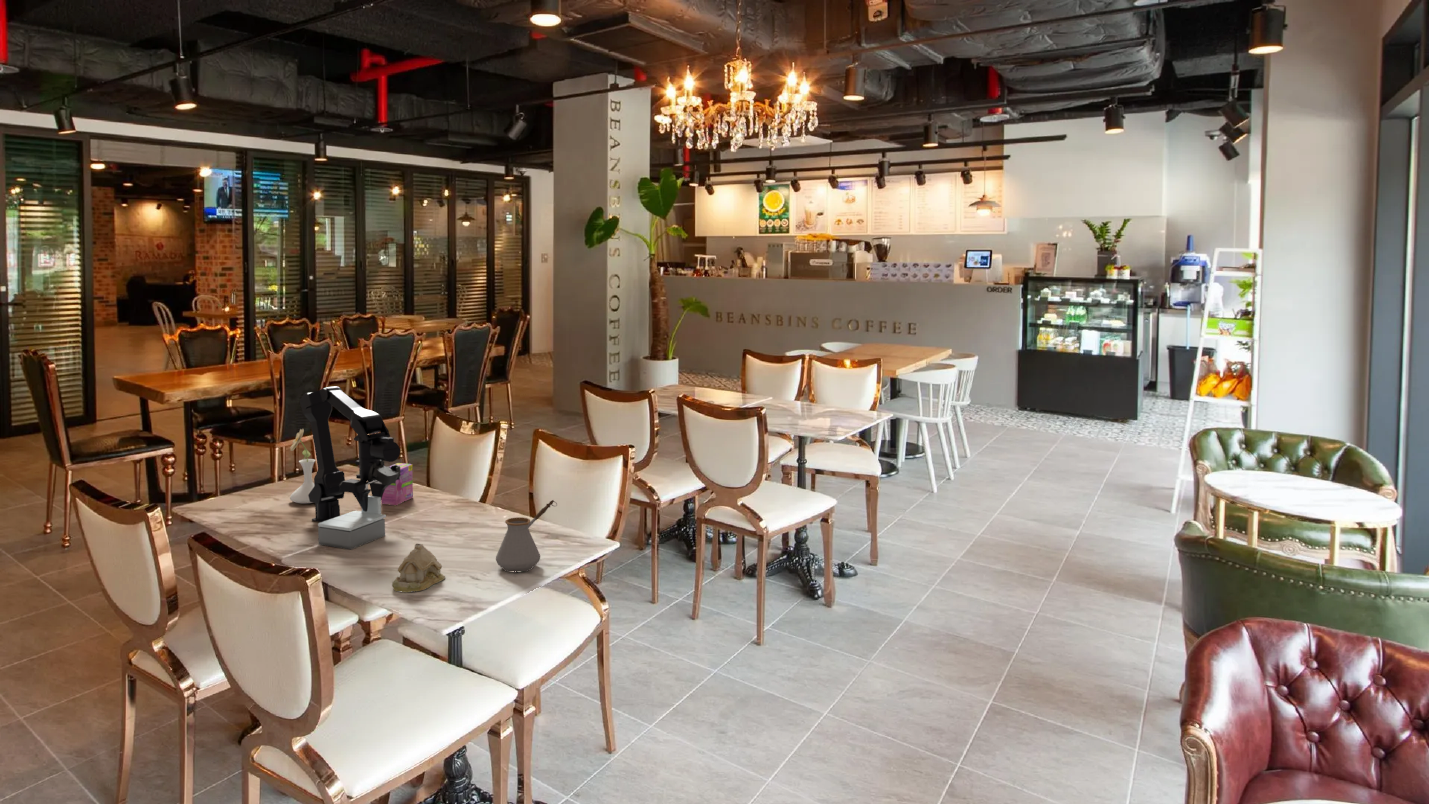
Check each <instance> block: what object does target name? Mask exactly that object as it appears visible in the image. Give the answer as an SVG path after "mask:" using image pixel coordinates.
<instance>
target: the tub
mask: <svg viewBox="0 0 1429 804" xmlns="http://www.w3.org/2000/svg"><path fill="white" fill-rule="evenodd" d="M317 531H318V532H317V535H318V546H324V545H326V546H325V547H331V548H339V549H343V548H345V549H344V550H353V549H356V548H358V547H360V545H361V546H363V545H365V544H369V543H370V542H373V541H375V539H376V540H378V539H380V538H383V537H385V536H386V520H385V518H383V519H381V520H378V521H375V522H373V523H370V524H367V525H365V526H362V527H359V528H357V529H354V530H351V531H346V530H339V529H332V528H326V527H319V526H317Z"/></svg>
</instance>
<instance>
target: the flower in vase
mask: <svg viewBox="0 0 1429 804" xmlns="http://www.w3.org/2000/svg"><path fill="white" fill-rule="evenodd" d="M304 431H305V430H304V428H302V429H301V428H300V429H299V432H297V433H296V435H295V439H293V440H292V444H291V446H290V447H289V449H290V452H291V451H292V452H293V451H294V450H295V449H296V448H297V447H298V445H299V443H300V444H301V445H302V446H303V448H304V449H303V451H302V455H303V458H302V459H300V460H298V463H299V464H300V465H301V467H302V470H303V479H304V480H303V483H302V484H301V485H300V486H299V487H298V488H296V489H295V490H294V491H293V492H292V493H291V494H290V496H289V500H290V501H291V502H294V503H296V504H313V502H310V500H309V496H308V495H309V493H310V492H311V490H312V489H313V487H314V480H313V478H312V477H313V476H312V475H313V466H314V464H315V462H317V459H314V458H309V457H310V456H311V453H310V451H309V450H308V449H307V448H306V446H305V445H304V443H303V441H302V438H303V435H304Z"/></svg>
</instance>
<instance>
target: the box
mask: <svg viewBox="0 0 1429 804" xmlns="http://www.w3.org/2000/svg"><path fill="white" fill-rule="evenodd" d="M393 465H398V466H400V470H401V473H400V475H401V476H400V477H399V480H396V483H392V484H391V485H389V486H388V487H387V488H386V489H385V490H384V493H383V496H382V499H381V505H383V504H390V505H389V506H393V505H397V506H399V505H400V504H403V503H404V501H405V502H407V501H408V500H410V499H413V498H414V487H413V484H414V483H413V481H414V479H413V478H414V477H413V463H412V464H411V463H404V462H403V463H402V462H397V463H395V464H392V465H389V466H390V468H391V467H392V466H393ZM402 502H403V503H402ZM398 504H399V505H398Z"/></svg>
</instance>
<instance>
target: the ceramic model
mask: <svg viewBox="0 0 1429 804" xmlns="http://www.w3.org/2000/svg"><path fill="white" fill-rule="evenodd" d="M437 560H438V559H437V558H436V556H435V555H434V554H433V553H432V552H431V551H430V550H428V549H427V548H426V547H425V546H424V544H422V543H415V544H414V548H413V549H412V550H411V551H409V554H408V555H407V556H405V557H404V559H403V561H402V562H401V563H400V565H399V566H398V568H397V572H398V573H399V576H396V577H395V579H394V580H393V581H392V584H391V587H392V588H393V590H395V592H397V591H402V592H401V593H412V592H411V591H414V592H415V591H416V592H420V591H421V592H422V591H423V590H426V588H427V589H429V588H430V587H432V586H433V585H436V584H437V583H439V582H441V581H443V580H445V579H446V575H444V574H443V573H441V570H442V569H443V568H442V567H443V566H442V564H441V563H440V562H439V561H437Z"/></svg>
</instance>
